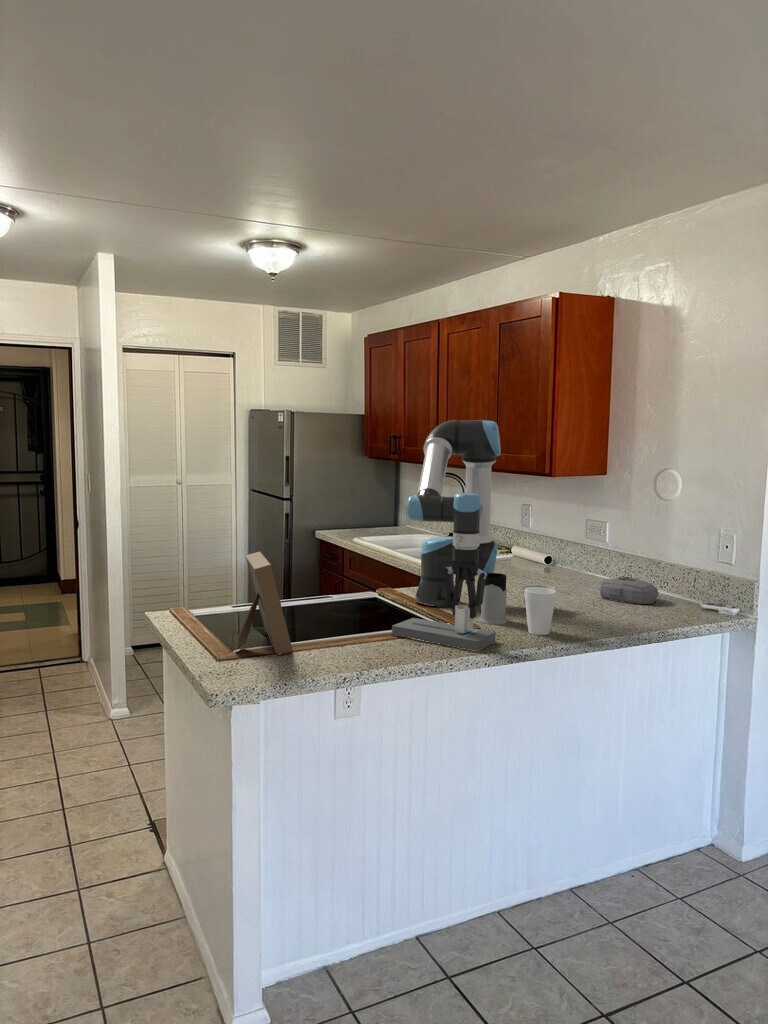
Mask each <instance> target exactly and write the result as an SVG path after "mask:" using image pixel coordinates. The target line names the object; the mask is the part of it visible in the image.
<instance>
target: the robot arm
mask: <svg viewBox="0 0 768 1024" xmlns="http://www.w3.org/2000/svg"><path fill="white" fill-rule="evenodd" d="M422 449H423V454H424V458H423V465H422V468H421V473H420V478H419V483H418V488H417V492H416V494H415V495H410V496H409V497H408V499H407V505H406V513H407V517H408V519H409V521H417V522H446V523H453V531H452V532H453V533H452V536H448V535H447V536H446V535H445V536H436V537H431V538H427V539H424V540H423V541H422V543H421V548H420V549H421V550H420V551H421V552H420V582H419V584H418V588H417V591H416V593H415V595H414V596H415V598H414V599H415V600H416V601H419V602H422V603H426V604H429V605H433V606H438V607H437V608H449V607H452V616H454V617H455V612H456V608H457V607H460V606H462V605H463V604H462V603H461V602H462V601H461V598H462V596H461V595H462V591H463V584H464V581H465V584H466V586H467V589H466V590H467V596H468V605H467V606H468V607H467V621H466V630H470V629H472V628H474V619H476V617H477V607H479V606H481V605H482V604H483V596H484V587H485V579H486V577H487V575H488V573H495V567H496V561H497V555H498V548H499V543H498V542H496V541H495V537H494V536H493V535H492V534H491V507H492V506H491V501H492V495H491V494H492V466H493V465H494V464H495V463H496V462H497V457H499V456H501V453H502V451H501V437H500V431H499V426H498V424H497V422H495V421H493V420H484V419H478V420H477V419H475V420H473V419H470V420H469V419H468V420H461V419H460V420H457V419H453V420H452V419H451V420H447V421H444V422H442V423H440V424H439V425H437V426H436V427H435V428H433V430H431V432H430V433H429V434H428V435H427V437H426V439H425V441H424V444H423V448H422ZM452 455H453V456H454V455H455V456H461V461H462V462H463V464H464V465H465V492H459V493H455V494H454V496H443V491H444V484H445V479H446V473H447V469H448V468H447V466H448V462H449V459H450V458H451V456H452ZM476 576H477V583H476ZM475 583H476V584H475ZM415 600H414V601H415ZM448 606H449V607H448Z"/></svg>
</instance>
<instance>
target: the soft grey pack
mask: <svg viewBox="0 0 768 1024" xmlns="http://www.w3.org/2000/svg"><path fill="white" fill-rule="evenodd" d="M599 590H600V596H601V598H602V599H606V598H607V599H606V600H609V599H612V600H611V601H613V600H617V601H616V602H618V601H623V602H622V603H624V602H629V603H628V604H632V603H637V604H639V605H640V604H641V605H650V603H651V604H655V603H656V602H655V601H657V600H658V599H657V598H658V596H659V594H660V592H659V590H658V588H657V587H656V586H655V585H653V584H652V583H650V582H648V581H645V580H642V579H638V578H635V577H631V576H621V577H620V576H619V577H614V578H607V579H605V580H603V581H602V583H601V584H600V589H599ZM654 602H655V603H654ZM637 604H636V605H637Z"/></svg>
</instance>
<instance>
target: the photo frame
mask: <svg viewBox="0 0 768 1024" xmlns="http://www.w3.org/2000/svg"><path fill="white" fill-rule="evenodd" d="M244 557H245V559H246V564H247V567H248V571H249V576H250V578H251V582H252V586H253V590H254V594H255V597H254V599H253V601H252V604H251V605H250V608H249V611H248V613H247V615H246V617H245V619H244V622H243V623H242V626H241V628H240V631H239V633H238V635H237V638H236V647H235V650H236V649H238V648H240V647H242V646H244V645H245V646H246V643H247V642H248V641H247V640H248V637H249V633H250V631H251V626H252V624H253V620H254V617H255V614H256V611H257V608H258V610H259V613H260V616H261V620H262V624H263V629H264V632H265V633H266V632H267V634H268V637H269V639H270V641H271V643H272V645H273V647H274V649H275V651H276V652H275V651H274V652H275V654H276V653H277V654H279V653H285V654H289V653H291V652H293V651H294V650H293V646H292V642H291V639H290V635H289V629H288V626H287V622H286V619H285V618H286V617H285V615H284V611H283V608H282V603H281V600H280V596H279V591H278V588H277V584H276V580H275V577H274V572H273V568H272V563H270V562H269V561H268V559H267V558H266V557H265V556H264V554H263V553H262V552H261V551H257V552H256V551H255V552H254V553H249V554H246V555H244ZM268 637H267V638H268ZM269 639H268V640H269ZM270 641H269V642H270ZM271 643H270V644H271ZM272 645H271V646H272ZM273 647H272V648H273ZM274 649H273V650H274ZM277 654H276V655H277Z"/></svg>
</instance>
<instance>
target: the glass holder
mask: <svg viewBox="0 0 768 1024" xmlns="http://www.w3.org/2000/svg"><path fill="white" fill-rule="evenodd" d="M507 592H508V591H507V574H504V573H497V572H493V573H488V575H487V577H486V579H485V587H484V596H483V604H482V605H480V606H481V608H480V611H481V614H480V617H479V618H480V619H479V622H480V621H481V622H480V623H482V622H484V623H483V624H486V623H489V624H488V625H503V624H507V623H508V620H507ZM506 622H507V623H506Z"/></svg>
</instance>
